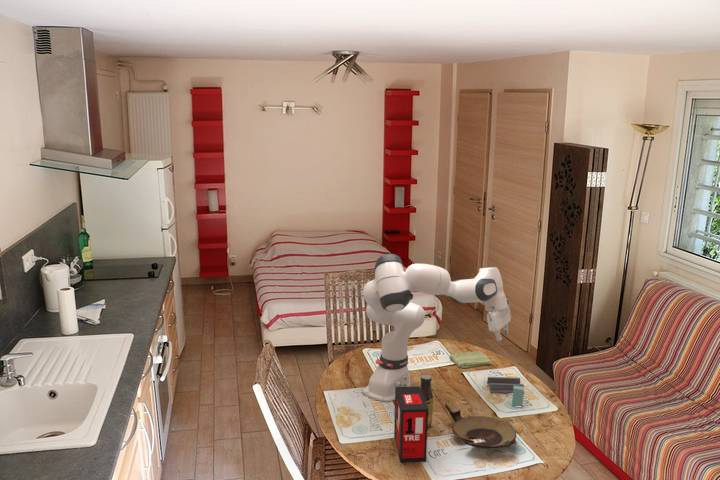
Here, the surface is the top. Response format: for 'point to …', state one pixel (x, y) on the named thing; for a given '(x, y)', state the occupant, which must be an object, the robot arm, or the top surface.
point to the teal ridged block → (517, 396)
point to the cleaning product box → (410, 424)
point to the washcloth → (470, 359)
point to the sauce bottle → (427, 396)
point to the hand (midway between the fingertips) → (503, 337)
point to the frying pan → (482, 430)
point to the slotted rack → (502, 384)
